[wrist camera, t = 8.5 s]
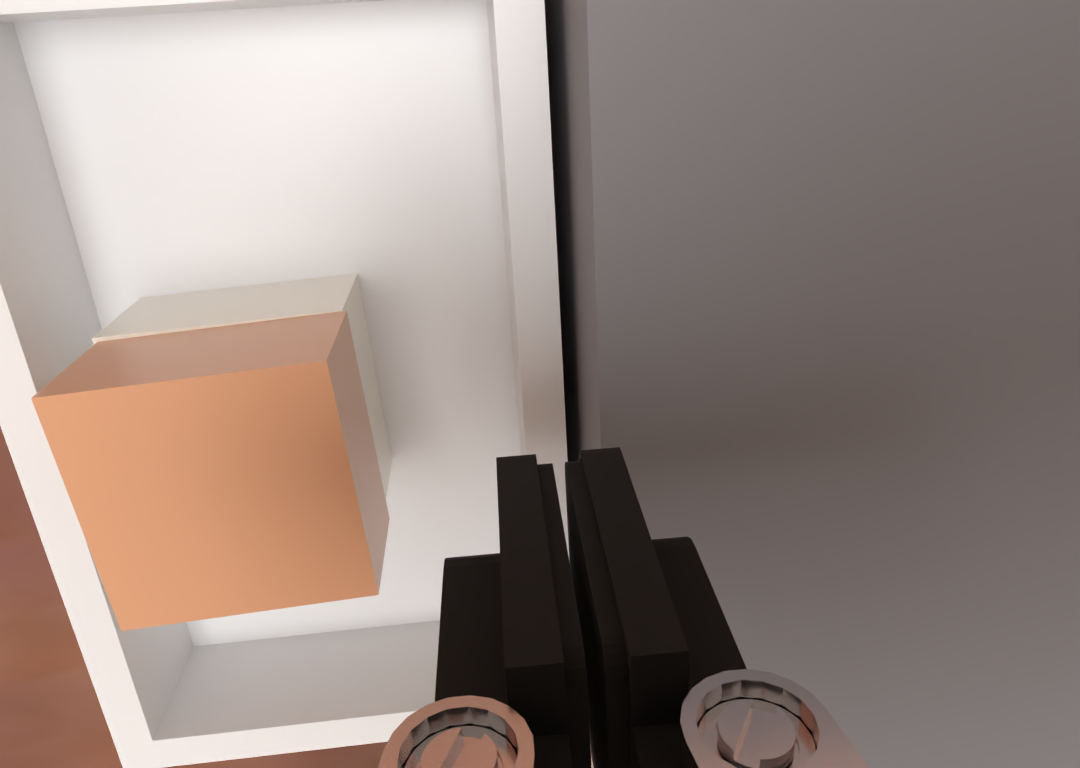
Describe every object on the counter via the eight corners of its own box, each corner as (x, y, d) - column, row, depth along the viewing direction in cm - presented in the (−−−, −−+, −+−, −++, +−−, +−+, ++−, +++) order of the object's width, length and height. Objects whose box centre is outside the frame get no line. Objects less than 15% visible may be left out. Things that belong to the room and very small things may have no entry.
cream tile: (91, 338, 15) (141, 297, 17) (160, 546, 16) (196, 483, 19) (342, 309, 15) (357, 273, 17) (383, 518, 17) (392, 459, 19)
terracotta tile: (346, 310, 15) (326, 360, 13) (389, 518, 17) (378, 594, 14) (97, 341, 15) (31, 398, 12) (168, 548, 17) (120, 631, 14)
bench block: (1160, -209, 15) (1546, -343, 10) (990, 628, 23) (1152, 810, 18) (532, -179, 15) (576, -306, 9) (576, 675, 23) (614, 879, 17)
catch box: (523, -54, 16) (540, -77, 12) (562, 618, 22) (580, 719, 19) (-32, -23, 15) (-166, -38, 12) (174, 660, 21) (124, 771, 18)
